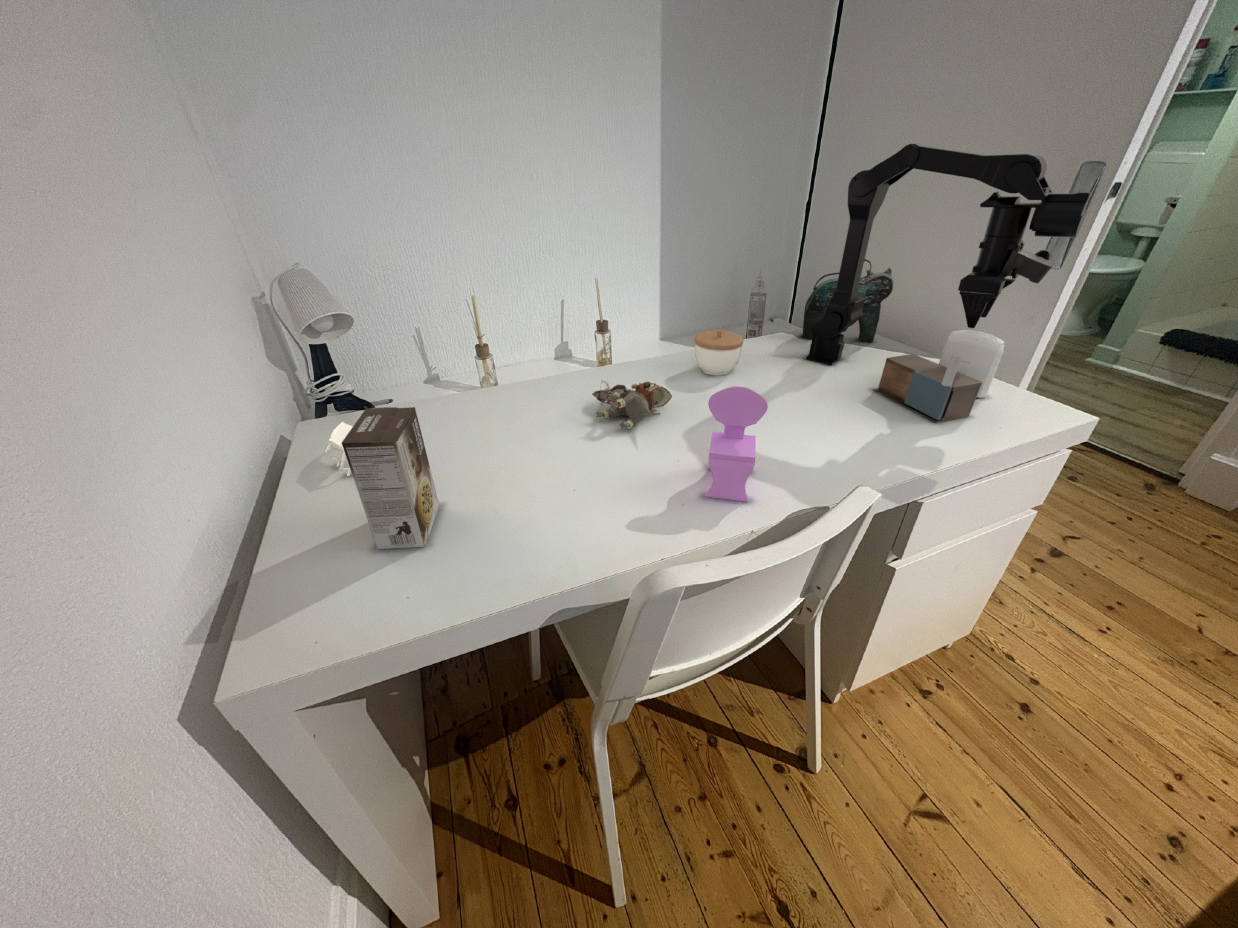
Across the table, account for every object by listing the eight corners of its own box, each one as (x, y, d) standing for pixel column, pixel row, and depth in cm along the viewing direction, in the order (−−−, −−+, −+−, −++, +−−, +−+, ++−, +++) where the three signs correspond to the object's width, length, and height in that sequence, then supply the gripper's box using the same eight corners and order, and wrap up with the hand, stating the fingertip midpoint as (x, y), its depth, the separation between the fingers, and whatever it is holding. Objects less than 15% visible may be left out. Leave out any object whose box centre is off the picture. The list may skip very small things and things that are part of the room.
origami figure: (394, 462, 84) (386, 436, 82) (340, 481, 80) (330, 454, 77) (369, 436, 92) (361, 411, 89) (318, 452, 87) (309, 426, 85)
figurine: (567, 384, 98) (626, 361, 109) (570, 413, 101) (627, 388, 112) (647, 408, 86) (705, 380, 96) (647, 441, 89) (704, 410, 99)
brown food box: (395, 508, 74) (365, 407, 65) (441, 505, 74) (417, 404, 65) (375, 550, 66) (338, 442, 57) (426, 547, 66) (396, 439, 58)
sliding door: (902, 403, 101) (921, 343, 94) (908, 402, 101) (927, 342, 95) (935, 420, 94) (958, 357, 88) (942, 419, 95) (965, 356, 88)
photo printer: (928, 385, 110) (947, 328, 103) (936, 380, 112) (956, 324, 105) (980, 400, 103) (1004, 341, 96) (989, 395, 105) (1013, 336, 99)
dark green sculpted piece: (876, 337, 137) (897, 258, 126) (881, 345, 131) (903, 263, 121) (799, 332, 141) (813, 255, 130) (800, 340, 135) (815, 260, 125)
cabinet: (872, 390, 108) (881, 358, 104) (903, 385, 110) (913, 353, 106) (935, 423, 95) (948, 388, 91) (969, 416, 97) (982, 382, 93)
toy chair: (697, 497, 75) (706, 405, 67) (702, 466, 83) (711, 380, 75) (755, 504, 74) (771, 411, 66) (755, 472, 81) (769, 384, 73)
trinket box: (684, 373, 116) (687, 333, 111) (703, 359, 124) (706, 320, 119) (729, 383, 111) (733, 341, 106) (746, 367, 119) (751, 327, 114)
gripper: (1051, 244, 81) (1017, 341, 89) (1067, 231, 93) (1036, 317, 100) (970, 241, 88) (945, 331, 96) (995, 229, 99) (971, 310, 107)
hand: (977, 322), depth 100 cm, fingers open, 9 cm apart
